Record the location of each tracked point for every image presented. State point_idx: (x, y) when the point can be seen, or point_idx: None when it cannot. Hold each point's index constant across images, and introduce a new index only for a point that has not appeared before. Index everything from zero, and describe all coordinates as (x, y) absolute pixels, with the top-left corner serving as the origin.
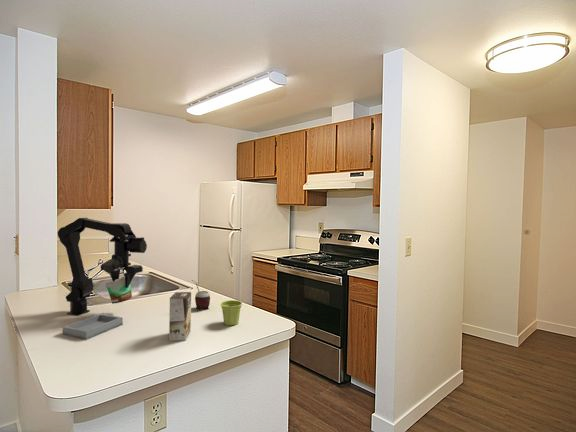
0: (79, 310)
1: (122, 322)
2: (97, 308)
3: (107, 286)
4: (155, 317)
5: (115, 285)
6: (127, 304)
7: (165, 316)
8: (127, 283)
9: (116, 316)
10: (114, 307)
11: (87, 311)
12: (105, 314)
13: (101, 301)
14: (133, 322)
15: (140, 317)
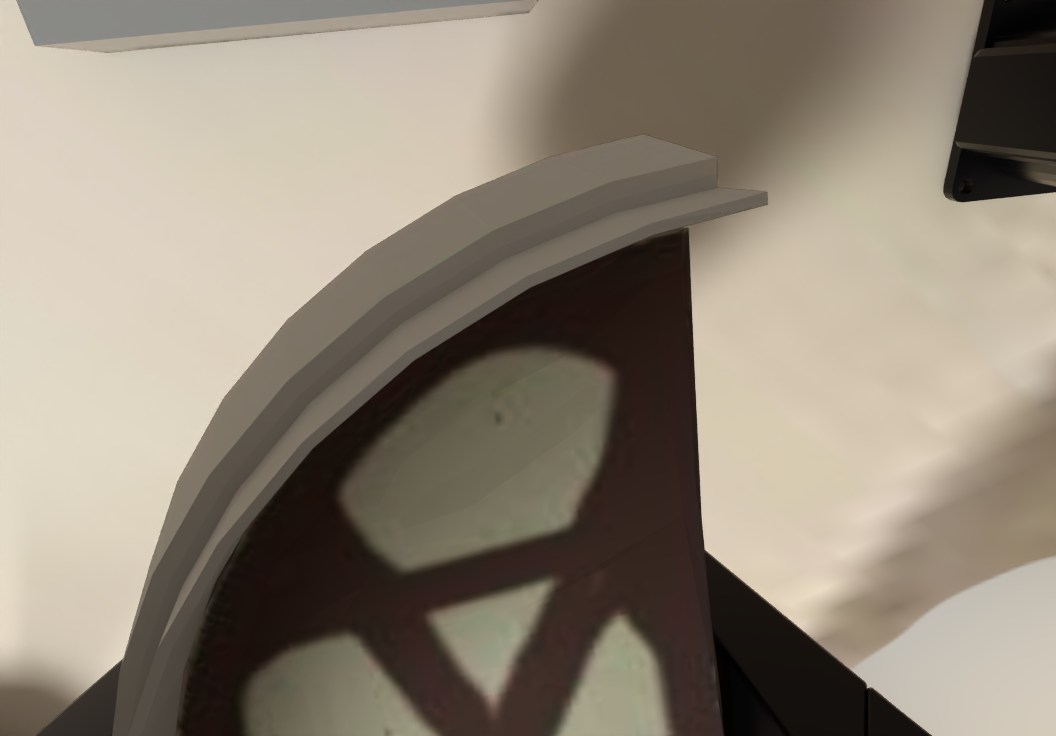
0: (1041, 30)
1: (86, 49)
2: (930, 323)
3: (559, 169)
4: (74, 445)
5: (247, 373)
6: (717, 551)
7: (25, 514)
8: (81, 718)
9: (172, 31)
10: (771, 435)
11: (955, 161)
12: (428, 10)
13: (1043, 485)
14: (88, 198)
15: (211, 364)
